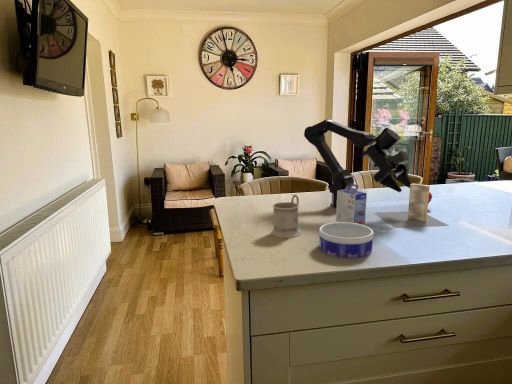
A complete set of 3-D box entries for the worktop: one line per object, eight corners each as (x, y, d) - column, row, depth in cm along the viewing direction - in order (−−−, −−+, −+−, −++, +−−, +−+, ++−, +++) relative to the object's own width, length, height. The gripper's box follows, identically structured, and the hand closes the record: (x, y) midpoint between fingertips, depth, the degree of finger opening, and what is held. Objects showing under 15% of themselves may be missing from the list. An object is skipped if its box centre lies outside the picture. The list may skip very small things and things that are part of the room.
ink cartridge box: (366, 226, 125) (367, 186, 123) (354, 229, 123) (355, 188, 120) (346, 220, 134) (348, 182, 131) (335, 222, 132) (336, 183, 129)
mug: (292, 239, 114) (292, 203, 111) (265, 234, 119) (265, 199, 116) (310, 227, 126) (311, 194, 123) (285, 223, 131) (285, 191, 128)
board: (407, 218, 133) (410, 184, 130) (410, 217, 134) (412, 183, 132) (424, 221, 128) (427, 186, 126) (426, 220, 130) (429, 185, 127)
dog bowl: (381, 257, 99) (382, 236, 97) (326, 260, 98) (327, 239, 96) (360, 239, 114) (361, 220, 112) (313, 241, 112) (313, 222, 111)
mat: (395, 228, 122) (395, 227, 122) (373, 213, 142) (373, 212, 142) (449, 226, 124) (449, 225, 123) (419, 211, 143) (419, 210, 143)
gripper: (382, 145, 127) (411, 179, 121) (406, 142, 139) (433, 172, 134) (361, 166, 134) (388, 198, 128) (385, 161, 147) (411, 190, 141)
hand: (406, 189), depth 133 cm, fingers open, 9 cm apart
